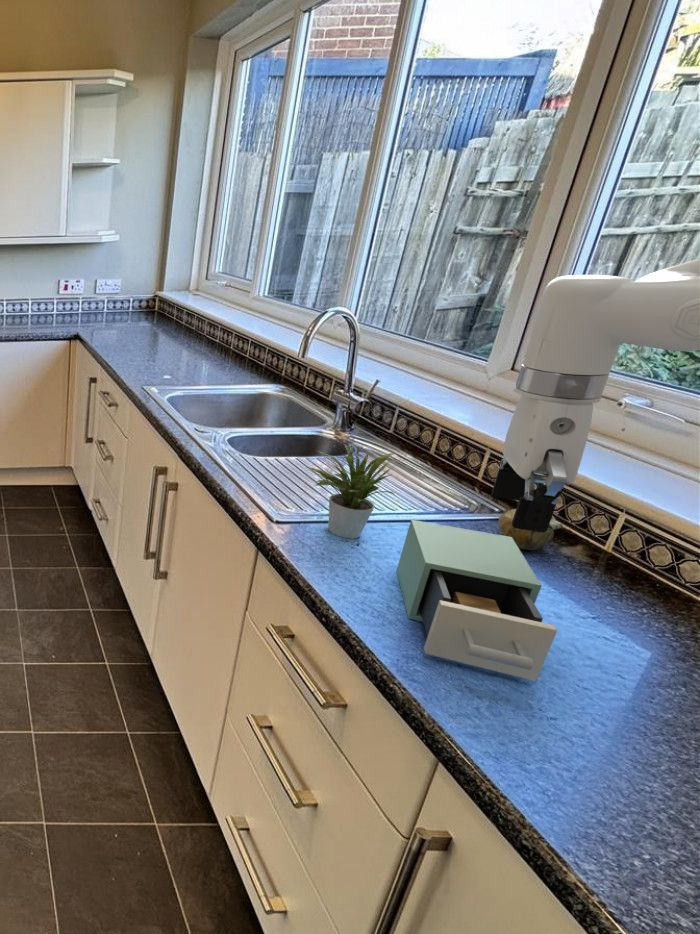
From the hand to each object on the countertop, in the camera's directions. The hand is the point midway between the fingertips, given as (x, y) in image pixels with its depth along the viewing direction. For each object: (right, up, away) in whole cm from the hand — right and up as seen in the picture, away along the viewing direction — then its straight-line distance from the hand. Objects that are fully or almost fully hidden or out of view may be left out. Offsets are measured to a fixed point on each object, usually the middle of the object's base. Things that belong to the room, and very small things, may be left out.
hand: (516, 512), depth 79 cm
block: (0, -14, +7) cm, 16 cm away
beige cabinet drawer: (-2, -19, +4) cm, 19 cm away
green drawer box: (+4, -15, +15) cm, 22 cm away
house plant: (+2, -7, +37) cm, 38 cm away
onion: (+29, -9, +31) cm, 43 cm away
